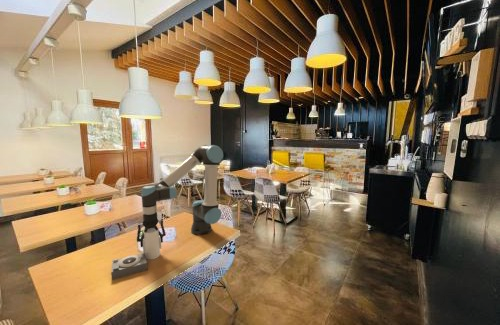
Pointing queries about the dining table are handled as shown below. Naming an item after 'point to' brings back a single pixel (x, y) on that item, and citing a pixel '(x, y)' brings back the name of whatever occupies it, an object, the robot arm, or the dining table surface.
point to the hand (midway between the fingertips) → (152, 249)
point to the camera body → (128, 265)
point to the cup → (151, 243)
